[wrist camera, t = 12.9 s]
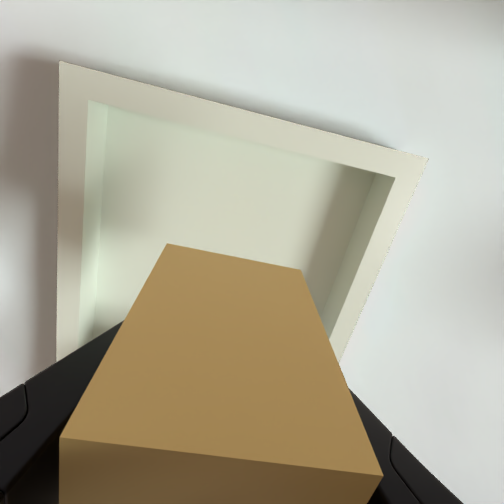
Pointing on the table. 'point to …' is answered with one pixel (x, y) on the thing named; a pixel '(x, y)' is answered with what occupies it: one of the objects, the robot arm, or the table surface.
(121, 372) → the ochre block
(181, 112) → the tray
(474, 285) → the table surface
